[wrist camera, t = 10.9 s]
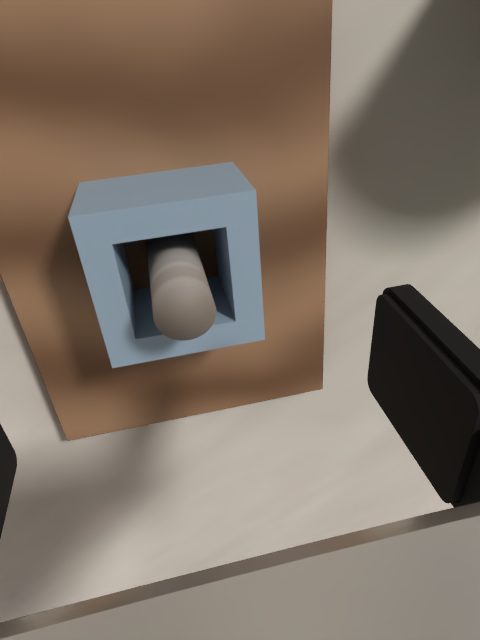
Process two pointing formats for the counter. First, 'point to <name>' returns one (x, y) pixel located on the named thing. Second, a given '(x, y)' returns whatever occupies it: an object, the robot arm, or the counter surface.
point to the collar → (165, 220)
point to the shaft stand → (154, 156)
